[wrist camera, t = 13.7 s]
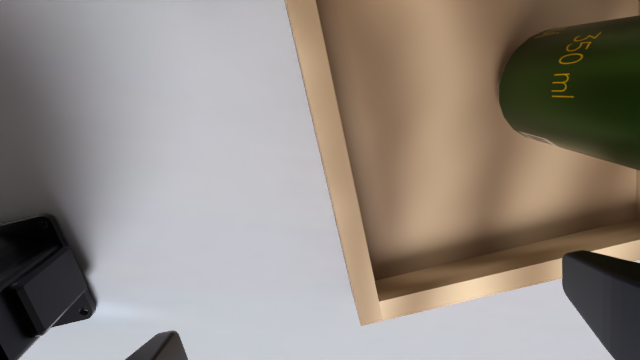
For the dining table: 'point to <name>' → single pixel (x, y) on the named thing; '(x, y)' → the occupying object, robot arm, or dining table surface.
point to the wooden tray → (449, 151)
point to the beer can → (578, 89)
